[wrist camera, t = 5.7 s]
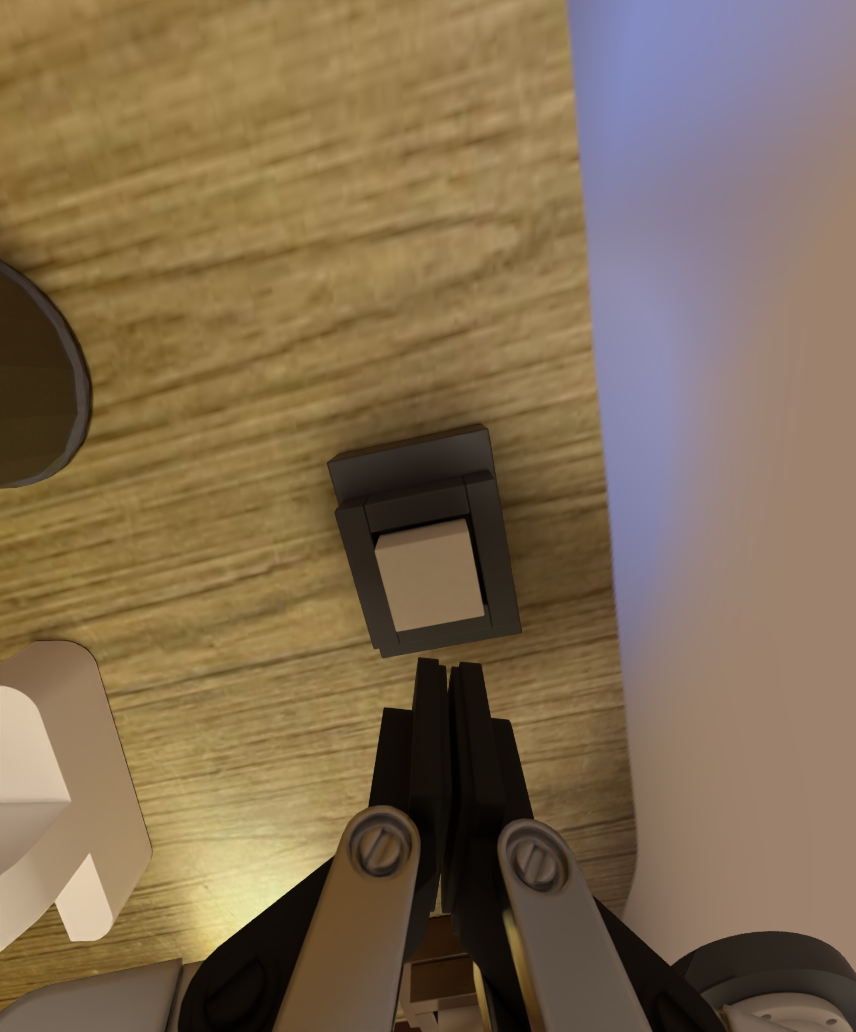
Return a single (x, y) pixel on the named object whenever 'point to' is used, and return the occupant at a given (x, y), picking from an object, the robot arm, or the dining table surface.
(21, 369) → the canister
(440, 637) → the near block
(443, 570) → the near key
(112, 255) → the dining table surface
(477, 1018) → the far key
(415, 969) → the far block
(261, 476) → the dining table surface
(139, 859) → the slotted bracket
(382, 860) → the robot arm
